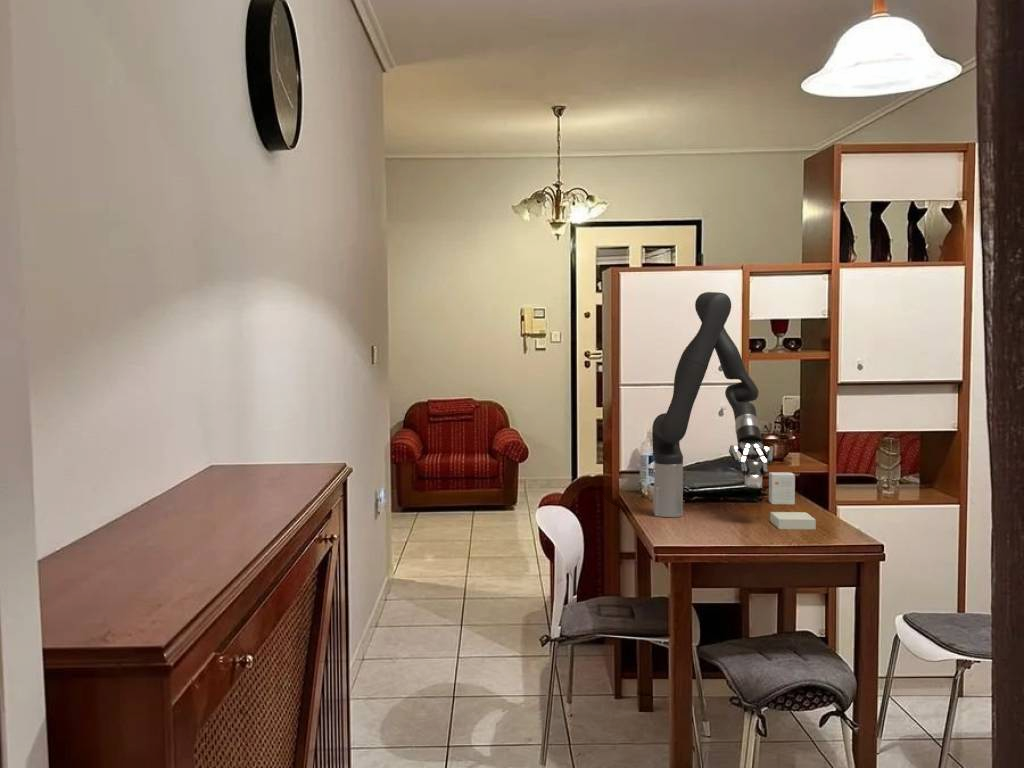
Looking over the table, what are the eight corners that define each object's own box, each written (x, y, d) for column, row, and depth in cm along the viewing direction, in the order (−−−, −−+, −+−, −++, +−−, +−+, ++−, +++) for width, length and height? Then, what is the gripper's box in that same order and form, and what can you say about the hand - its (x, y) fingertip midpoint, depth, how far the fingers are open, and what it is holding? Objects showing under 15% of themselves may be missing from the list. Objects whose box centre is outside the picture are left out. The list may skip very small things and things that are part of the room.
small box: (791, 501, 319) (792, 472, 319) (795, 504, 314) (795, 474, 313) (768, 501, 320) (768, 471, 320) (771, 504, 315) (771, 474, 314)
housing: (746, 487, 280) (747, 462, 280) (743, 484, 286) (743, 459, 285) (763, 488, 280) (764, 462, 280) (759, 485, 285) (760, 460, 285)
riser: (778, 529, 276) (779, 519, 276) (770, 521, 287) (770, 512, 286) (815, 529, 275) (815, 519, 275) (805, 521, 286) (805, 512, 286)
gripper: (727, 423, 290) (733, 466, 278) (772, 424, 289) (781, 467, 278) (723, 438, 295) (729, 480, 284) (768, 439, 295) (776, 481, 283)
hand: (755, 473), depth 281 cm, fingers closed on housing, 5 cm apart
